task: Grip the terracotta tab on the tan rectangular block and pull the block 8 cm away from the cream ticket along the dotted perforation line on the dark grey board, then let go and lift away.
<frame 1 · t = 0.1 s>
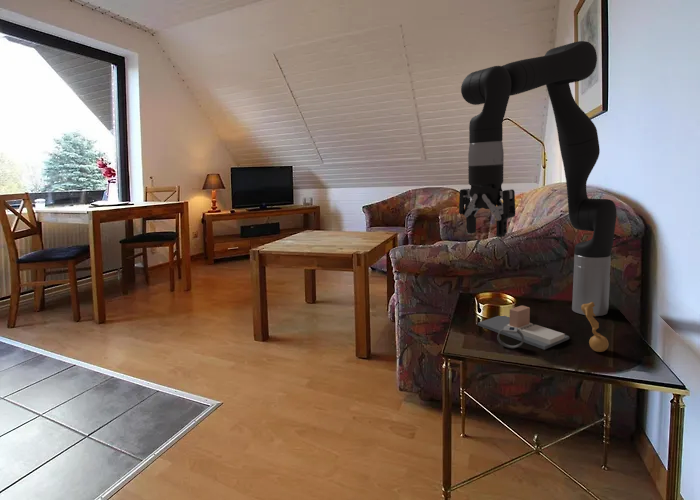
hand: (485, 234, 100), 29 cm above the table, tool pointing down, fingers open, 8 cm apart
wristwatch: (510, 348, 107), on the table
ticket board: (520, 331, 116), on the table
tan rectangular block: (519, 318, 116), point 4 cm above the table, slide at 0.0 cm
figurine: (593, 351, 103), on the table
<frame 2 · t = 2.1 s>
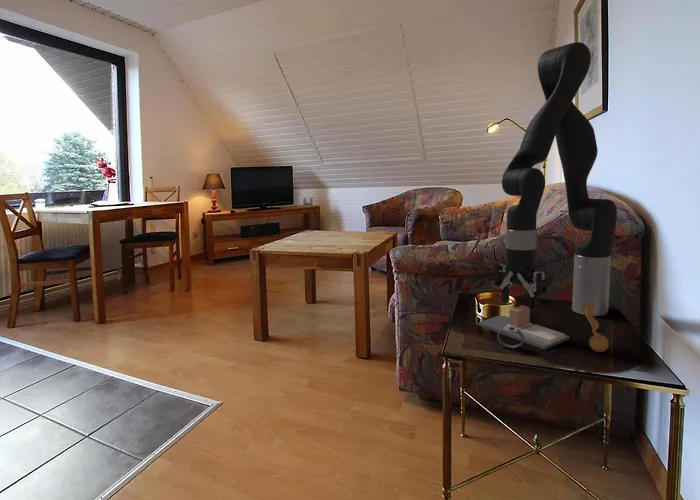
hand: (518, 306, 115), 7 cm above the table, tool pointing down, fingers open, 8 cm apart
nothing on the table moved.
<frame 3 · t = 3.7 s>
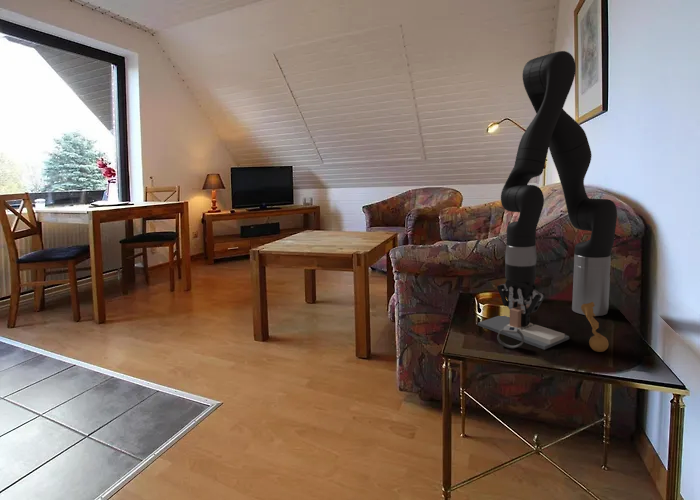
hand: (519, 324, 116), 2 cm above the table, tool pointing down, fingers closed on tan rectangular block, 2 cm apart
tan rectangular block: (519, 318, 116), point 4 cm above the table, slide at 0.0 cm, touching gripper
everything else where it was.
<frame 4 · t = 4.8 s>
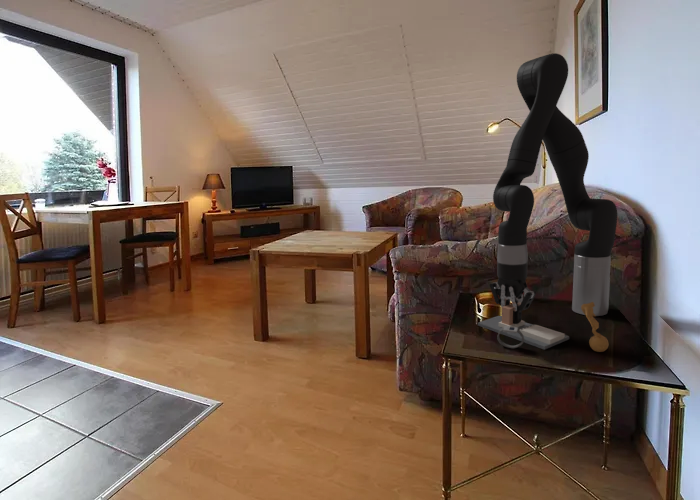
hand: (511, 321, 118), 2 cm above the table, tool pointing down, fingers closed on tan rectangular block, 2 cm apart
tan rectangular block: (511, 315, 118), point 4 cm above the table, slide at 2.6 cm, touching gripper
everything else where it was.
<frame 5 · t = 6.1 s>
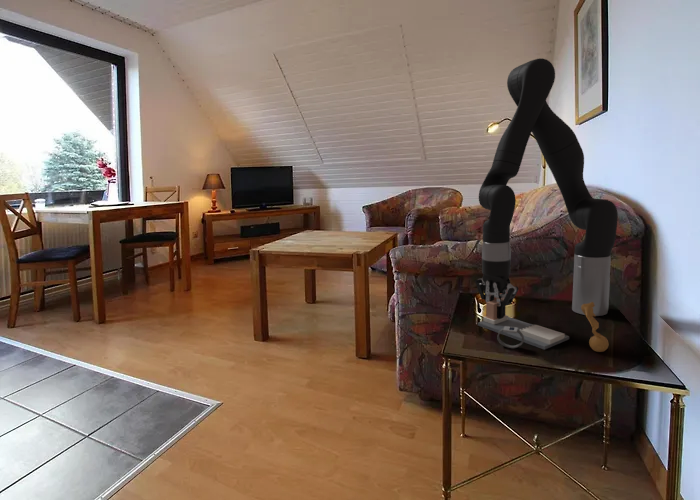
hand: (495, 316, 123), 2 cm above the table, tool pointing down, fingers closed on tan rectangular block, 2 cm apart
tan rectangular block: (495, 310, 123), point 4 cm above the table, slide at 7.9 cm, touching gripper
everything else where it was.
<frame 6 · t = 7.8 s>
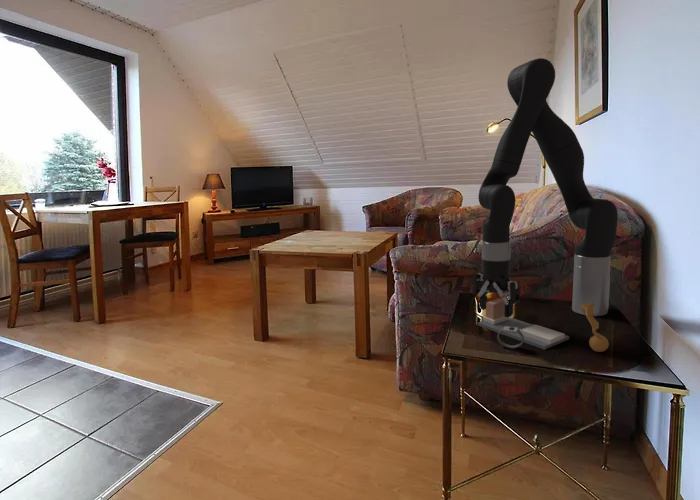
hand: (495, 312, 123), 3 cm above the table, tool pointing down, fingers open, 8 cm apart
tan rectangular block: (495, 310, 123), point 4 cm above the table, slide at 7.9 cm
everything else where it was.
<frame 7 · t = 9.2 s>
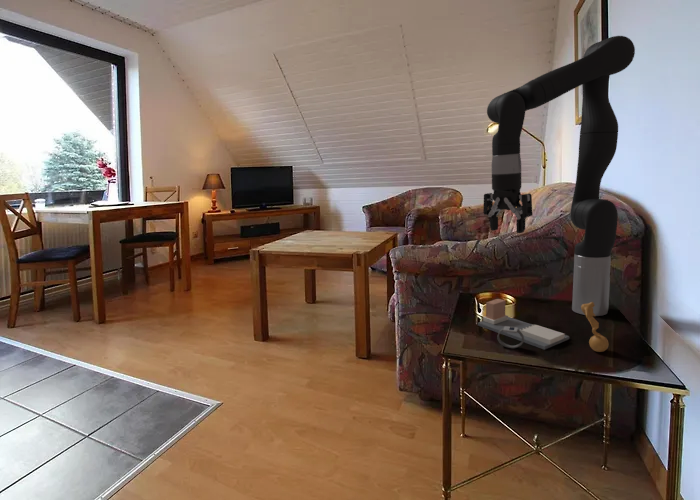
hand: (507, 231, 119), 26 cm above the table, tool pointing down, fingers open, 8 cm apart
nothing on the table moved.
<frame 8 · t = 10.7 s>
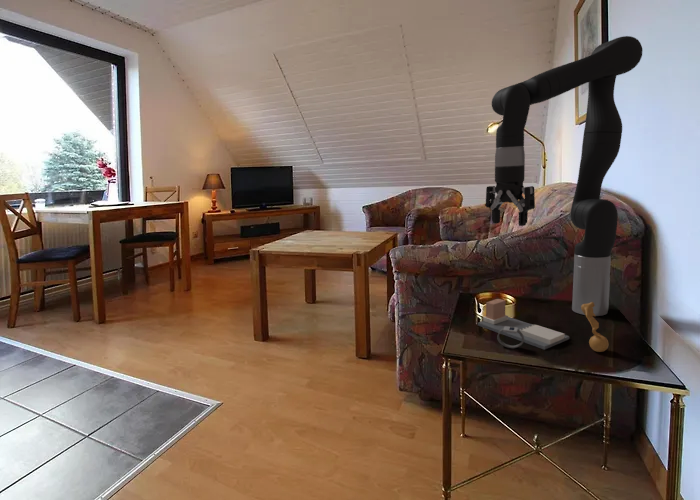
hand: (508, 224, 119), 28 cm above the table, tool pointing down, fingers open, 8 cm apart
nothing on the table moved.
at the end: tan rectangular block slide at 7.9 cm; the gripper is holding nothing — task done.
